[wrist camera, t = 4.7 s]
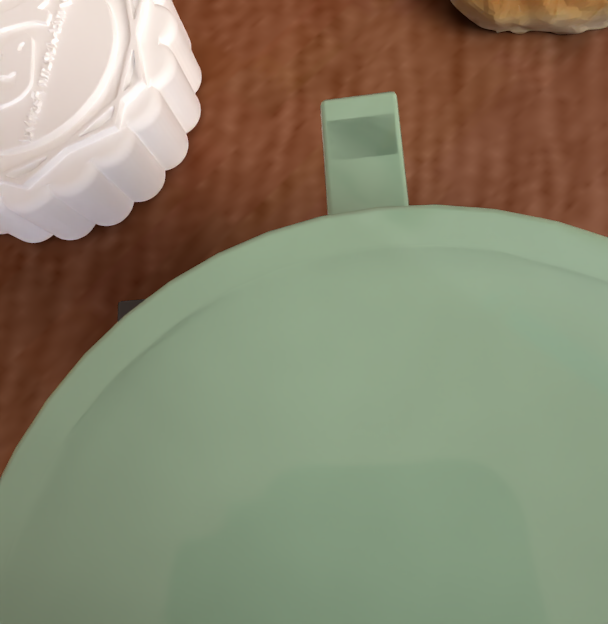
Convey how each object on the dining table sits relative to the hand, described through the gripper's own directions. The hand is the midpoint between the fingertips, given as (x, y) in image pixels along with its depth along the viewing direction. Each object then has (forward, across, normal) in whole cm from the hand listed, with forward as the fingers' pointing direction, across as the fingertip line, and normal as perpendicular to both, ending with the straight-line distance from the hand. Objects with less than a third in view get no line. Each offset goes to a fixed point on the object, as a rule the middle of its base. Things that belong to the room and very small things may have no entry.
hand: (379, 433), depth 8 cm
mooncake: (+16, +12, -4) cm, 20 cm away
